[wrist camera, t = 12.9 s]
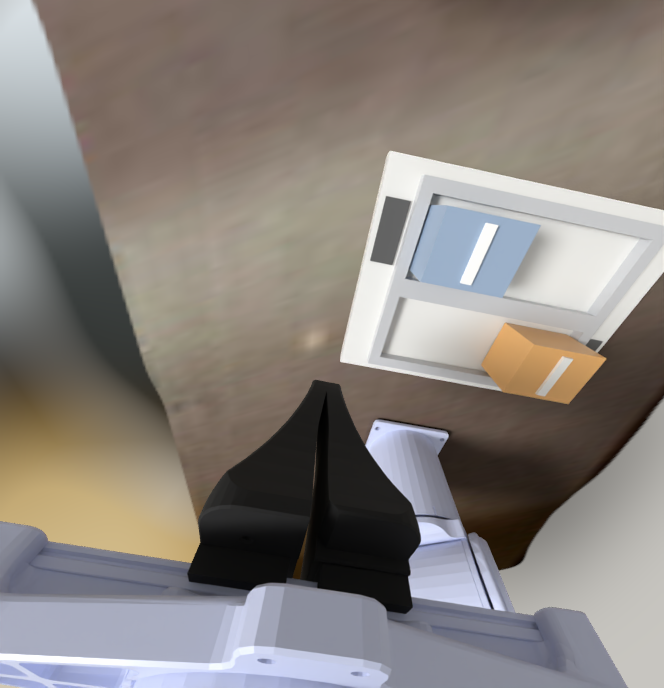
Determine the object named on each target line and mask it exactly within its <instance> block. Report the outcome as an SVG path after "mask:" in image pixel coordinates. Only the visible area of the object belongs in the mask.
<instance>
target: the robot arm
mask: <svg viewBox="0 0 664 688" xmlns="http://www.w3.org/2000/svg"><path fill="white" fill-rule="evenodd" d="M376 427H378V428H376ZM448 437H449V435H448V433H447V432H446V431H443V430H437V429H431V428H425V427H420V426H414V425H408V424H403V423H397V422H391V421H385V420H379V419H378V420H375V421H374V423H373V426H372V429H371V431H370V434H369V437H368V440H367V442H366V445H365V444H364V443H363V441H362V439H361V437H360V435H359V434H358V432H357V430H356V428H355V426H354V423H353V421H352V419H351V417H350V414H349V412H348V409H347V407H346V404H345V401H344V398H343V395H342V391H341V387H340V385H339V384H335V383H329V382H324V381H319V380H314V381H313V382H312V385H311V387H310V389H309V391H308V393H307V395H306V397H305V398H304V400H303V401H302V403H301V404H300V406H299V407H298V408H297V410H296V411H295V412H294V413H293V415H292V416H291V417H290V418H289V419H288V421H287V422H286V423H285V424H284V425H283V426H282V427H281V428H280V429H279V430H278V431H277V432H276V433H275V434H274V435H273V436H272V437H271V438H270V439H269V440H268V441H267V442H266V443H264V444H263V445H262V446H261V447H260V448H258V449H257V450H256V451H255V452H253V453H252V454H251V455H250V456H248V457H247V458H246V459H244V460H243V461H241V462H240V463H238V464H237V465H235V466H234V467H232V468H231V469H229V470H228V471H227V472H226V473H225V474H224V475H223V477H222V478H221V479H220V481H219V482H218V483H217V485H216V486H215V488H214V489H213V491H212V492H211V494H210V496H209V497H208V499H207V501H206V503H205V505H204V507H203V510H202V512H201V514H200V516H199V520H198V525H199V534H200V542H201V543H200V545H199V547H198V549H197V552H196V554H195V557H194V559H193V561H192V563H187V562H181V561H174V560H167V559H161V558H154V557H148V556H141V555H134V554H128V553H122V552H115V551H109V550H102V549H95V548H89V547H83V546H76V545H70V544H63V543H56V542H50V541H48V538H47V536H46V534H45V533H44V532H43V531H42V530H40V529H38V528H36V527H32V526H28V525H21V524H15V523H8V522H2V521H0V684H3V685H9V686H15V687H21V688H628V687H627V685H626V684H625V682H624V680H623V678H622V677H621V675H620V673H619V671H618V670H617V668H616V667H615V664H614V663H613V661H612V659H611V658H610V656H609V654H608V652H607V651H606V649H605V648H604V645H603V644H602V642H601V640H600V639H599V637H598V635H597V633H596V632H595V630H594V628H593V626H592V625H591V623H590V621H589V619H588V618H587V616H586V614H585V613H583V612H581V611H574V610H568V609H562V608H554V607H548V608H543V609H541V610H539V611H537V612H536V613H535V614H534V616H533V615H527V614H520V613H515V610H514V608H513V606H512V603H511V601H510V598H509V595H508V593H507V591H506V588H505V586H504V583H503V581H502V578H501V576H500V573H499V571H498V568H497V566H496V564H495V561H494V559H493V556H492V554H491V551H490V549H489V547H488V544H487V542H486V541H485V540H483V539H482V538H481V537H478V535H477V534H476V533H470V534H468V536H469V539H470V541H469V539H468V536H467V534H466V532H465V530H464V527H463V525H462V523H461V520H460V518H459V515H458V512H457V509H456V506H455V503H454V501H453V498H452V495H451V492H450V489H449V486H448V484H447V481H446V478H445V475H444V472H443V470H442V467H441V464H440V461H439V458H438V454H439V452H440V451H441V449H442V447H443V446H444V444H445V442H446V440H447V439H448ZM441 438H442V439H441ZM316 442H317V447H316ZM315 453H316V468H315V482H314V489H313V478H314V464H315ZM312 494H313V496H312ZM308 524H309V525H308ZM307 528H308V532H307V538H306V545H305V552H304V559H303V565H302V572H301V578H300V580H298V579H292V577H293V573H294V570H295V566H296V563H297V560H298V559H299V555H300V552H301V548H302V545H303V541H304V538H305V535H306V531H307ZM470 542H471V543H470Z"/></svg>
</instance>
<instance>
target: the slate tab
mask: <svg viewBox="0 0 664 688" xmlns="http://www.w3.org/2000/svg"><path fill="white" fill-rule="evenodd" d="M540 226H541V225H538V224H533V223H529V222H524V221H519V220H514V219H510V218H505V217H500V216H495V215H491V214H486V213H481V212H476V211H472V210H467V209H462V208H458V207H453V206H448V205H429V207H428V211H427V214H426V217H425V220H424V223H423V226H422V229H421V232H420V235H419V238H418V241H417V244H416V248H415V251H414V254H413V257H412V260H411V263H410V266H409V270H410V271H411V272H412V273H413V274H414V275H415V276H416V277H417V279H418V280H419V281H420V282H423V283H428V284H433V285H439V286H444V287H449V288H454V289H459V290H464V291H469V292H474V293H479V294H484V295H489V296H494V297H499V298H503V296H504V294H505V292H506V290H507V288H508V286H509V285H510V283H511V281H512V279H513V277H514V275H515V273H516V271H517V270H518V268H519V266H520V264H521V262H522V260H523V258H524V256H525V255H526V253H527V251H528V249H529V247H530V245H531V243H532V241H533V240H534V238H535V236H536V234H537V232H538V230H539V228H540Z"/></svg>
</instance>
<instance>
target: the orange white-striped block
mask: <svg viewBox="0 0 664 688" xmlns="http://www.w3.org/2000/svg"><path fill="white" fill-rule="evenodd" d="M606 359H607V358H605V357H603V356H602V355H600V354H598V353H597V352H595V351H593V350H592V349H590V348H588V347H587V346H585V345H583V344H582V343H580V342H578V341H577V340H575V339H573V338H572V337H570V336H568V335H567V334H562V333H556V332H551V331H546V330H541V329H536V328H531V327H526V326H520V325H515V324H510V323H504V325H503V327H502V329H501V330H500V332H499V334H498V336H497V338H496V339H495V341H494V343H493V345H492V346H491V348H490V350H489V352H488V353H487V355H486V357H485V359H484V360H483V362H482V364H481V366H482V367H483V368H484V370H485V371H486V372H487V373H488V374H489V376H490V377H491V378H492V379H493V381H494V382H495V383H496V384H497V385H498V387H499V388H500V389H501V390H502V392H505V393H511V394H516V395H522V396H527V397H533V398H538V399H544V400H549V401H555V402H560V403H566V404H569V403H570V402H571V400H572V399H573V398H574V397H575V396H576V394H577V393H578V392H579V391H580V390H581V389H582V387H583V386H584V385H585V384H586V383H587V381H588V380H589V379H590V378H591V377H592V376H593V374H594V373H595V372H596V371H597V370H598V368H599V367H600V366H601V365H602V364H603V363H604V361H605V360H606Z"/></svg>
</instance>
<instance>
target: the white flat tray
mask: <svg viewBox="0 0 664 688" xmlns="http://www.w3.org/2000/svg"><path fill="white" fill-rule="evenodd" d="M429 205H448V206H453V207H458V208H462V209H467V210H472V211H476V212H481V213H486V214H491V215H495V216H500V217H505V218H510V219H514V220H519V221H524V222H529V223H533V224H538V225H541V226H540V228H539V230H538V232H537V234H536V236H535V238H534V240H533V241H532V243H531V245H530V247H529V249H528V251H527V253H526V255H525V256H524V258H523V260H522V262H521V264H520V266H519V268H518V270H517V271H516V273H515V275H514V277H513V279H512V281H511V283H510V285H509V286H508V288H507V290H506V292H505V294H504V296H503V298H499V297H494V296H489V295H484V294H479V293H474V292H469V291H464V290H459V289H454V288H449V287H444V286H439V285H433V284H428V283H423V282H420V281H419V280H418V279H417V277H416V276H415V275H414V274H413V273H412V272H411V271H410V270H409V266H410V263H411V260H412V257H413V254H414V251H415V248H416V244H417V241H418V238H419V235H420V232H421V229H422V226H423V223H424V220H425V217H426V214H427V211H428V207H429ZM663 272H664V210H659V209H655V208H650V207H646V206H641V205H637V204H632V203H627V202H623V201H618V200H614V199H609V198H604V197H600V196H595V195H591V194H586V193H582V192H577V191H572V190H568V189H563V188H559V187H554V186H549V185H545V184H540V183H536V182H531V181H527V180H522V179H517V178H513V177H508V176H504V175H499V174H494V173H490V172H485V171H481V170H476V169H472V168H467V167H462V166H458V165H453V164H449V163H444V162H439V161H435V160H430V159H426V158H421V157H417V156H412V155H407V154H403V153H398V152H394V151H389V153H388V154H387V157H386V162H385V166H384V170H383V175H382V179H381V183H380V187H379V192H378V196H377V200H376V205H375V209H374V213H373V218H372V222H371V226H370V230H369V235H368V239H367V243H366V248H365V252H364V256H363V260H362V265H361V269H360V273H359V278H358V282H357V286H356V291H355V295H354V299H353V303H352V308H351V312H350V316H349V321H348V325H347V329H346V333H345V338H344V342H343V346H342V351H341V357H340V362H345V363H350V364H356V365H361V366H367V367H372V368H378V369H383V370H389V371H394V372H400V373H405V374H411V375H416V376H421V377H427V378H432V379H438V380H443V381H449V382H454V383H460V384H465V385H471V386H476V387H482V388H487V389H493V390H498V391H502V390H501V389H500V388H499V387H498V385H497V384H496V383H495V382H494V381H493V379H492V378H491V377H490V376H489V374H488V373H487V372H486V371H485V370H484V368H483V367H482V366H481V364H482V362H483V360H484V359H485V357H486V355H487V353H488V352H489V350H490V348H491V346H492V345H493V343H494V341H495V339H496V338H497V336H498V334H499V332H500V330H501V329H502V327H503V325H504V323H510V324H515V325H520V326H526V327H531V328H536V329H541V330H546V331H551V332H556V333H562V334H567V335H568V336H570V337H572V338H573V339H575V340H577V341H578V342H580V343H582V344H583V345H585V346H587V347H588V348H590V349H592V350H593V351H595V352H597V353H598V352H599V350H600V349H601V348H602V347H603V346H604V344H605V343H606V342H607V341H608V339H609V338H610V337H611V336H612V335H613V333H614V332H615V331H616V330H617V328H618V327H619V326H620V325H621V323H622V322H623V321H624V320H625V319H626V317H627V316H628V315H629V314H630V312H631V311H632V310H633V309H634V308H635V306H636V305H637V304H638V303H639V301H640V300H641V299H642V298H643V297H644V295H645V294H646V293H647V292H648V290H649V289H650V288H651V287H652V285H653V284H654V283H655V282H656V281H657V279H658V278H659V277H660V276H661V274H662V273H663Z"/></svg>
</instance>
